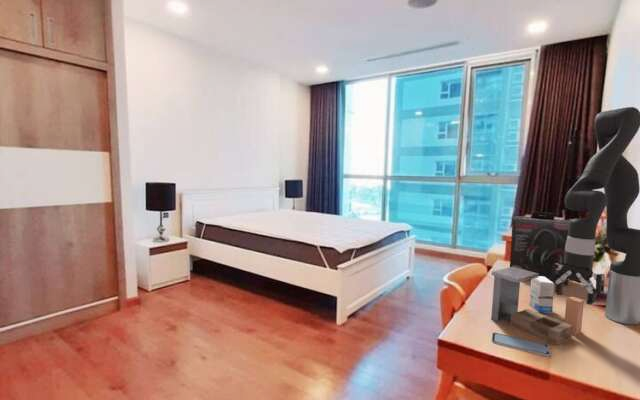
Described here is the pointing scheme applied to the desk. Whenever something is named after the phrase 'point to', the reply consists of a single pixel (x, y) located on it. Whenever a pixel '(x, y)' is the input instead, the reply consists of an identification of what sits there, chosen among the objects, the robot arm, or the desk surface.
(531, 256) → the headset box
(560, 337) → the socket block
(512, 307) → the panel
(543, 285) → the ink box
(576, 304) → the peg
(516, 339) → the smartphone
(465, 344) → the desk surface
